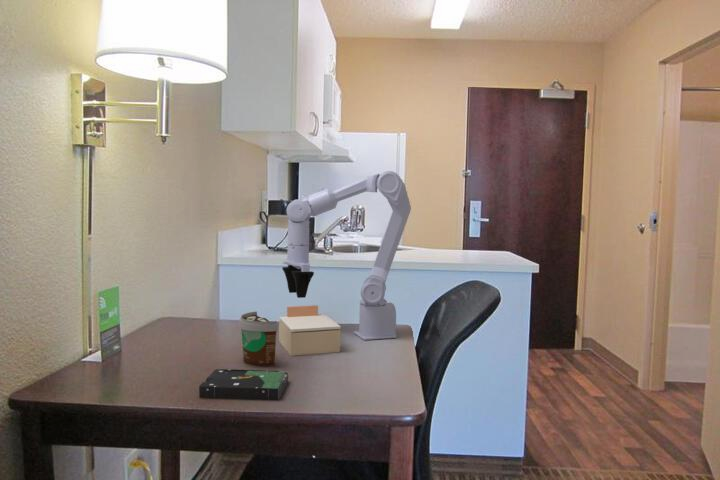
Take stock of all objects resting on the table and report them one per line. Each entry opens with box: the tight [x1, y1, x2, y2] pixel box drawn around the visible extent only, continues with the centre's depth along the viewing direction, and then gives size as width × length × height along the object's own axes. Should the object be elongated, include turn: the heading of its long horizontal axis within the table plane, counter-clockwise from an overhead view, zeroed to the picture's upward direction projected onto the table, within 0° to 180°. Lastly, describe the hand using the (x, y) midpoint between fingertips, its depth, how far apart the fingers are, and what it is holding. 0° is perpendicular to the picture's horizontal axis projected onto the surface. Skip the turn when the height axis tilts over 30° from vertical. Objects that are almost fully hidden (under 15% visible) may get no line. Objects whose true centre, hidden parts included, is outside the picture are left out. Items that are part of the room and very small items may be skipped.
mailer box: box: [278, 319, 342, 357], centre depth 133 cm, size 12×14×5 cm
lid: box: [278, 304, 342, 332], centre depth 132 cm, size 12×14×3 cm
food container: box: [237, 310, 279, 367], centre depth 119 cm, size 12×6×10 cm, turn 33°
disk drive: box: [198, 368, 289, 401], centre depth 102 cm, size 10×3×15 cm
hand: (297, 294), depth 145 cm, fingers open, 7 cm apart
